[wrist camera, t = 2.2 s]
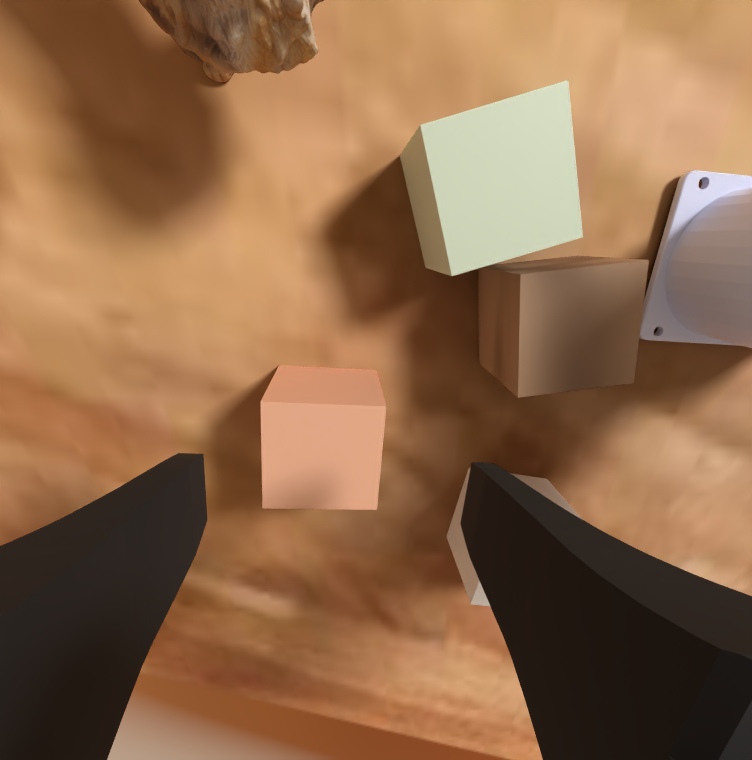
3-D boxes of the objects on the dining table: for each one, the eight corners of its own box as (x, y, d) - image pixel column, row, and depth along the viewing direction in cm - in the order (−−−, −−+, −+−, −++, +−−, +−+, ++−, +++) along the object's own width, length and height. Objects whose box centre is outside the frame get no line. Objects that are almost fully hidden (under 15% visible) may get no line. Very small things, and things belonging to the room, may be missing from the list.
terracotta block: (376, 369, 21) (386, 406, 16) (369, 453, 23) (377, 509, 18) (279, 364, 20) (260, 401, 16) (279, 451, 22) (262, 508, 17)
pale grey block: (546, 477, 24) (596, 535, 19) (519, 544, 26) (560, 612, 21) (468, 466, 23) (500, 523, 19) (446, 535, 25) (470, 604, 20)
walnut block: (576, 255, 20) (648, 259, 15) (569, 352, 22) (633, 383, 17) (477, 266, 20) (520, 274, 15) (478, 363, 21) (518, 397, 17)
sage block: (507, 123, 18) (568, 80, 13) (524, 238, 19) (582, 237, 15) (399, 155, 18) (420, 124, 13) (425, 267, 19) (451, 276, 15)
